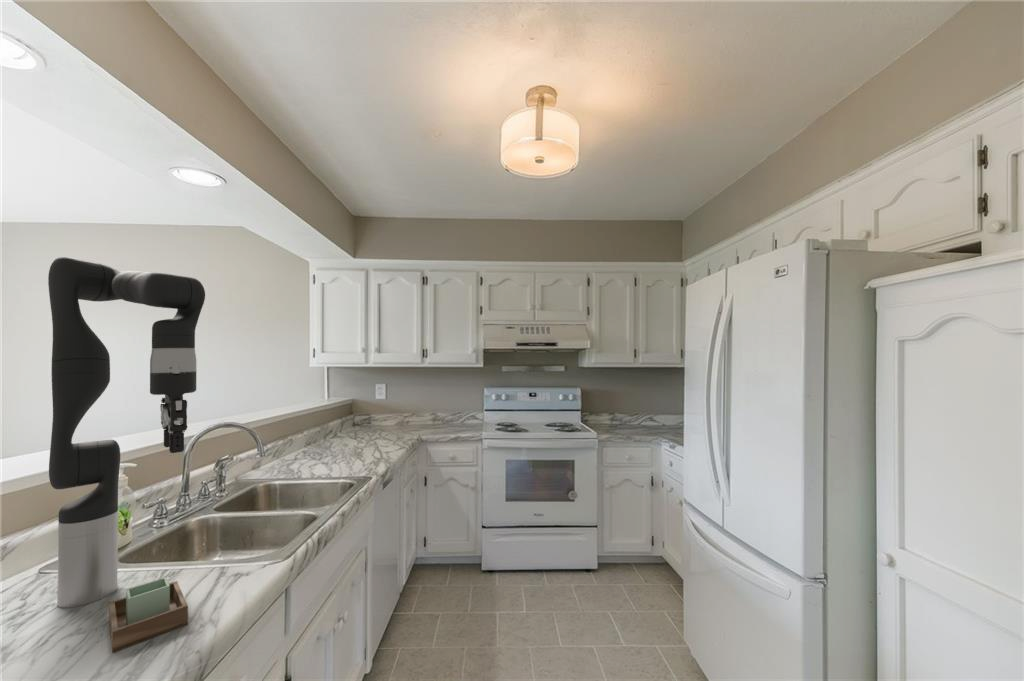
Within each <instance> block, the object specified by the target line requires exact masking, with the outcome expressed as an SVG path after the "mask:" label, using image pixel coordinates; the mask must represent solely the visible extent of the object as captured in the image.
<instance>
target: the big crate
mask: <svg viewBox="0 0 1024 681" xmlns="http://www.w3.org/2000/svg"><path fill="white" fill-rule="evenodd" d="M168 583H169V585H170V610H169V611H166V612H163V613H161V614H158V615H155V616H152V617H149V618H146V619H143V620H141V621H138V622H135V623H132V624H129V625H126V596H125V597H122V598H118V599H115V600H113V601H109V604H108V605H109V606H108V607H109V608H108V610H109V612H108V613H109V616H108V621H109V623H108V624H109V632H110V633H109V634H110V642H111V652H112V654H113V653H116V652H119V651H121V650H125V649H126V648H129V647H132V646H135V645H138V644H139V643H142V642H145V641H147V640H150V639H154V638H155V637H158V636H161V635H163V634H166V633H170V632H172V631H174V630H177V629H179V628H181V627H184V626H187V625H189V624H188V623H189V622H188V621H189V615H188V614H189V607H188V606H189V605H188V602H187V600H186V598H185V596H184V594H183V591H182V588H181V587H180V585H179V583H178V581H177V580H175V581H172V582H168Z"/></svg>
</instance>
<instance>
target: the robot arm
mask: <svg viewBox="0 0 1024 681" xmlns="http://www.w3.org/2000/svg"><path fill="white" fill-rule="evenodd" d="M47 277H48V280H47V283H48V284H47V285H48V293H49V304H50V310H51V311H50V312H51V322H52V346H51V348H52V349H51V394H52V395H51V396H52V422H51V436H50V437H51V438H50V446H49V447H50V449H49V459H48V460H49V461H48V479H49V484H50V486H51V487H52V488H53V489H55V490H64V489H65V490H66V489H70V488H71V489H72V488H77V487H84V486H89V485H95V484H97V486H96V487H95V488H94V489H93V490H91V491H89V492H88V493H87V494H85V495H83V496H81V497H80V498H78V499H75V500H72V501H70V502H69V503H66V504H64V505H63V506H62V507H60V509H59V511H58V524H57V525H58V526H57V529H58V530H57V531H58V532H57V536H58V538H57V541H58V542H57V545H58V546H57V589H56V590H57V591H56V592H57V601H56V602H57V603H56V604H57V607H58V608H62V609H63V608H64V609H69V608H76V607H77V608H78V607H82V606H84V605H89V604H92V603H94V602H97V601H100V600H101V599H104V598H106V597H108V596H110V595H112V594H113V593H114V592H115V591H117V588H118V571H119V570H118V569H119V568H118V566H119V565H118V564H119V563H118V561H119V560H118V559H119V558H118V556H119V555H118V554H119V549H118V548H119V545H118V543H119V542H118V541H119V480H120V479H119V477H120V469H121V468H120V467H121V448H120V445H119V443H118V442H117V441H116V440H114V439H101V440H94V441H86V442H85V441H84V442H79V443H78V442H77V443H73V442H72V440H73V437H74V433H75V431H76V429H77V427H78V425H79V424H80V423H81V420H83V418H84V416H85V415H86V414H87V412H88V411H89V410H90V409H91V408H92V406H93V405H94V404H95V403H96V401H98V399H99V398H100V397H101V396H102V395H103V393H104V392H105V390H106V389H107V387H108V386H109V384H110V381H111V359H110V354H109V353H110V352H109V350H108V348H107V347H106V346H105V344H104V343H103V341H101V339H100V337H99V336H98V335H97V334H96V333H95V332H94V331H93V330H92V328H91V327H90V325H89V324H88V323H87V322H86V319H85V318H84V316H83V314H82V312H81V306H80V303H79V300H82V301H87V302H88V301H89V302H111V301H119V300H123V301H124V302H129V303H134V304H138V305H144V306H149V307H155V308H161V309H162V308H164V309H175V310H176V309H177V310H176V312H175V315H174V316H173V318H168V319H167V318H165V319H161V320H160V319H159V320H157V321H155V322H153V324H152V328H151V353H150V359H149V393H150V394H151V395H152V396H161V395H162V396H163V395H164V397H162V398H161V399H160V402H161V403H160V404H159V405H160V407H159V409H160V424H161V428H162V429H163V447H165V448H169V453H171V454H175V453H183V451H184V450H185V432H186V431H187V430H188V429H187V428H188V422H187V421H188V414H187V413H188V412H187V411H188V401H187V399H184V395H185V394H190V393H191V394H192V393H195V392H196V391H197V353H196V329H197V328H196V327H197V325H198V322H199V317H200V314H201V312H202V309H203V307H204V304H205V301H206V291H205V287H204V285H203V284H202V283H201V282H200V280H199V279H197V278H194V277H190V276H183V275H177V274H170V273H165V272H157V271H139V270H127V271H121V270H120V269H117V268H114V267H112V266H110V265H107V264H104V263H100V262H95V261H94V262H93V261H91V260H85V259H80V258H75V257H69V256H59V257H57V258H55V259H54V260H53V261H52V263H51V264H50V267H49V270H48V276H47Z"/></svg>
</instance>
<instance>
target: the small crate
mask: <svg viewBox="0 0 1024 681" xmlns="http://www.w3.org/2000/svg"><path fill="white" fill-rule="evenodd" d="M169 583H170V582H169V580H168V577H167V576H165V577H161V578H158V579H155V580H152V581H148V582H145V583H142V584H138V585H134V586H131V587H128V588H125V589H126V590H125V597H126V625H129V624H132V623H135V622H138V621H141V620H143V619H146V618H149V617H152V616H155V615H158V614H161V613H163V612H166V611H169V610H170V585H169Z"/></svg>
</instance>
